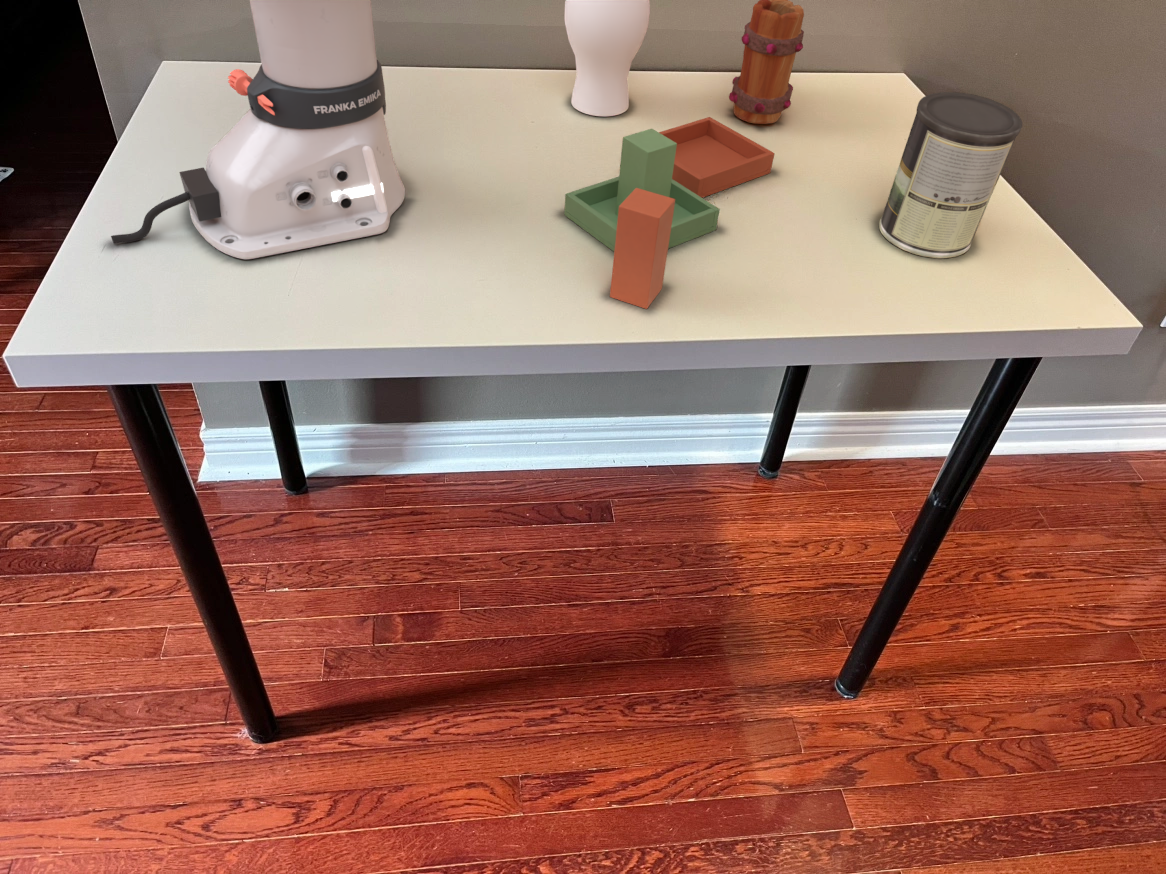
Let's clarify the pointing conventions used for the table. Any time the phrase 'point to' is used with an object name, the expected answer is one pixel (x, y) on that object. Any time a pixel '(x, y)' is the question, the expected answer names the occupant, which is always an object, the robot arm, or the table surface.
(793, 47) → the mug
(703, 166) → the terracotta tray
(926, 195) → the coffee can
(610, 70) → the white vase
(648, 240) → the terracotta block
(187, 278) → the table surface
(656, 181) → the green block
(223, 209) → the robot arm
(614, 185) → the green tray
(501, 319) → the table surface
